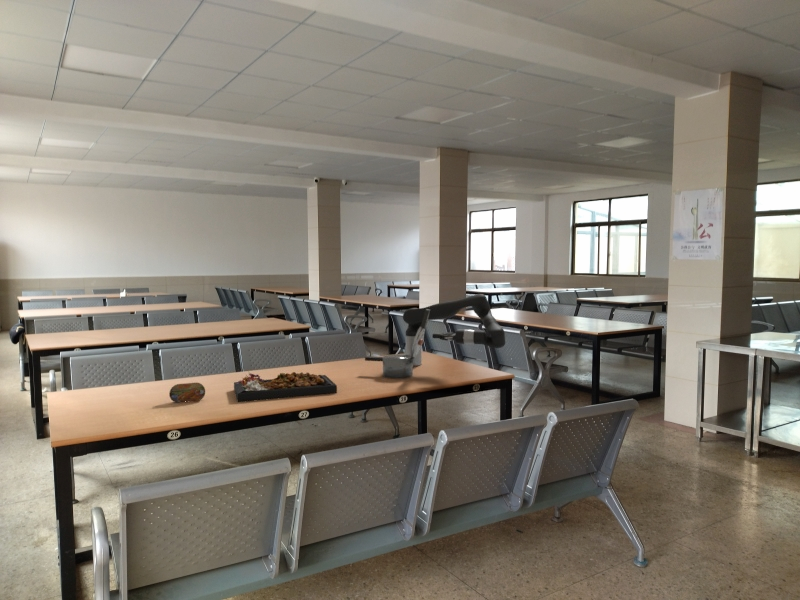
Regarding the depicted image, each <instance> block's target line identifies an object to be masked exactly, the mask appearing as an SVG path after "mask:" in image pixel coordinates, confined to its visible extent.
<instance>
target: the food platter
mask: <svg viewBox="0 0 800 600" xmlns="http://www.w3.org/2000/svg"><path fill="white" fill-rule="evenodd" d="M247 372H248V375H247V374H245V375H246V376H245V377H242V380H239V381H235V382H233V392H234V393H235V394H236V395H235V397H236V401H237V403H244V402H245V401H246V402H255V401H254V400H257V401H266V399H268V400H277V399H278V398H279V399H288V398H296V397H298V398H300V397H307V396H309V397H312V396H319V395H321V396H322V395H330V394H332V395H333V394H338V385H337V384H336V383H335V382H334V381H332V380H331V379H330V378H329V377H328V376H327V375H326V374H315V373H312V374H310V372H306V373H303V372H300V373H296V372H291V373H288V372H287V373H284V372H280V373H279V374H277V377H275V378H273V379H263V378H260V377H261V376H260V375H259V374H254V373H250V371H249V370H247ZM279 399H278V400H279Z"/></svg>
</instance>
